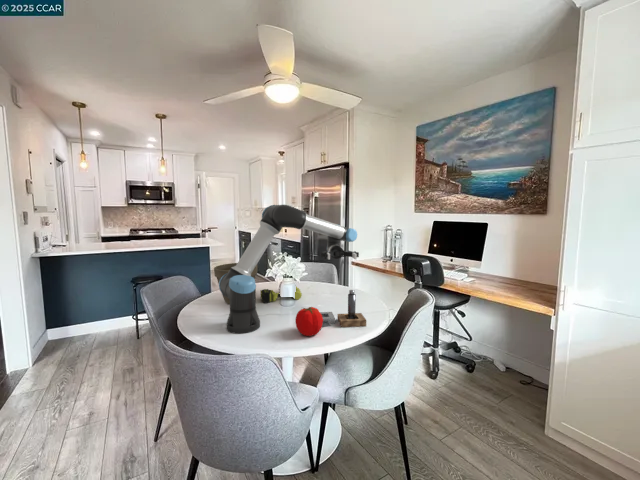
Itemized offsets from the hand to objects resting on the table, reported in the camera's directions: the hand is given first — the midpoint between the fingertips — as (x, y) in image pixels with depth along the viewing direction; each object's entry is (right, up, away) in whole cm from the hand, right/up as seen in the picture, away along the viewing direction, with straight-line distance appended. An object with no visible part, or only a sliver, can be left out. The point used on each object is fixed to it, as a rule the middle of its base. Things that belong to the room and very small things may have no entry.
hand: (342, 256), depth 150 cm
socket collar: (-10, -31, -3) cm, 33 cm away
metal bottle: (+4, -32, -7) cm, 32 cm away
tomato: (-16, -33, -19) cm, 41 cm away
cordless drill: (-37, -28, +40) cm, 61 cm away
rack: (+4, -32, -7) cm, 33 cm away
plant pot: (-61, -29, +28) cm, 74 cm away
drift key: (-11, -32, -11) cm, 36 cm away
